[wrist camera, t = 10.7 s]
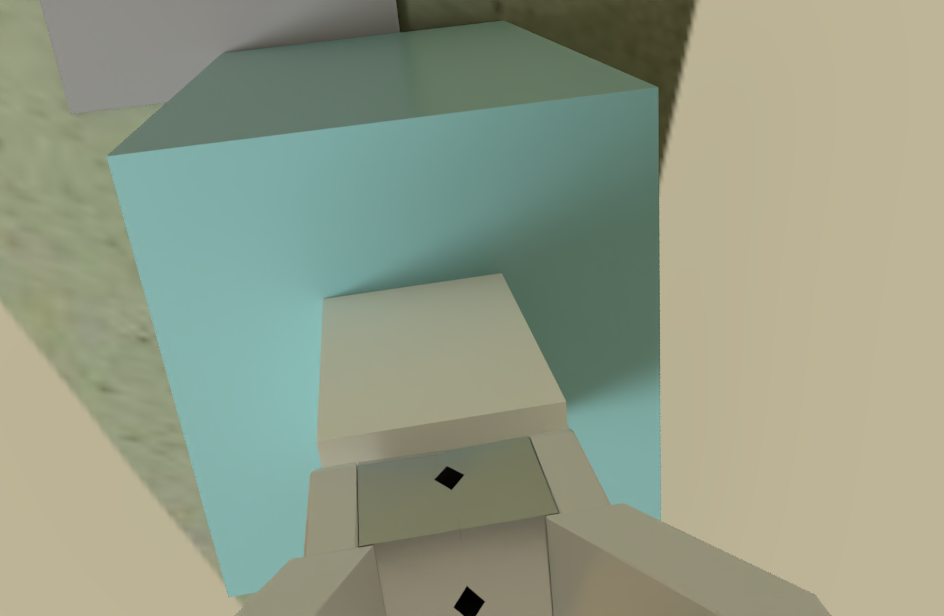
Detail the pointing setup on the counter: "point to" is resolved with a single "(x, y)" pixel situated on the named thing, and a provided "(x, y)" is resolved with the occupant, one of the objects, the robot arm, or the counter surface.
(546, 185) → the cover
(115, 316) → the counter surface
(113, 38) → the mat
